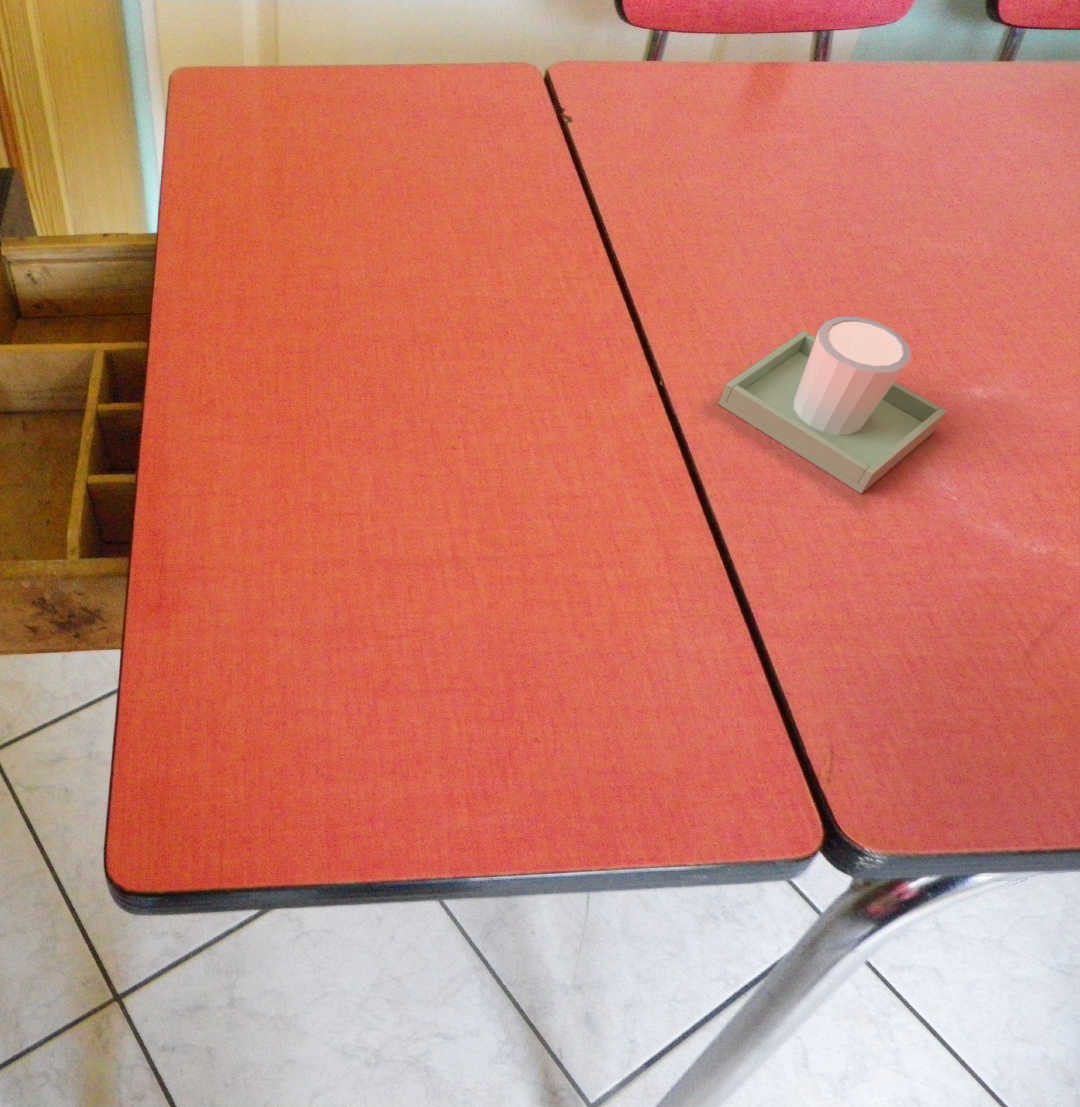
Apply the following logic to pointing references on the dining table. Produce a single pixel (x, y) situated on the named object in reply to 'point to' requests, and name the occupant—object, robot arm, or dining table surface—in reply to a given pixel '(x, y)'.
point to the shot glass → (849, 374)
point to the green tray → (846, 457)
